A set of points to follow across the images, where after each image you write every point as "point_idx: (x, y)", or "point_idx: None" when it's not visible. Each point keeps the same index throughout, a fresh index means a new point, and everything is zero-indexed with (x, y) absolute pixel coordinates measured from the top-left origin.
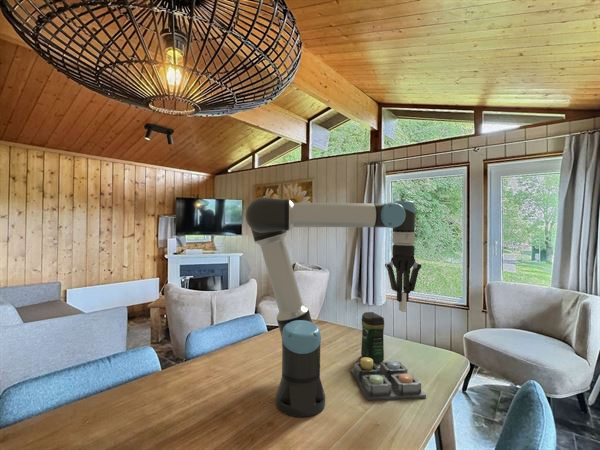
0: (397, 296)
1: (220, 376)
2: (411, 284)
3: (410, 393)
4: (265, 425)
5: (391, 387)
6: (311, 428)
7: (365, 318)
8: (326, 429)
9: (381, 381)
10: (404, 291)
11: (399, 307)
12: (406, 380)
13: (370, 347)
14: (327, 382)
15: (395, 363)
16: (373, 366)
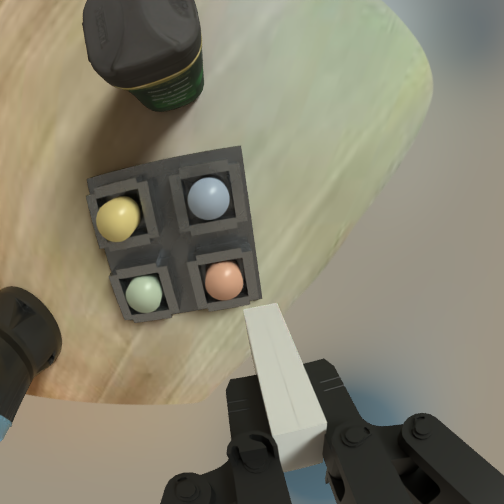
0: (233, 424)
1: None
2: (417, 500)
3: None
4: None
5: (186, 275)
6: (63, 379)
7: (87, 49)
8: (81, 382)
9: (155, 308)
10: (326, 451)
11: (247, 330)
12: (221, 299)
13: (142, 100)
14: (44, 248)
15: (216, 195)
16: (142, 208)
